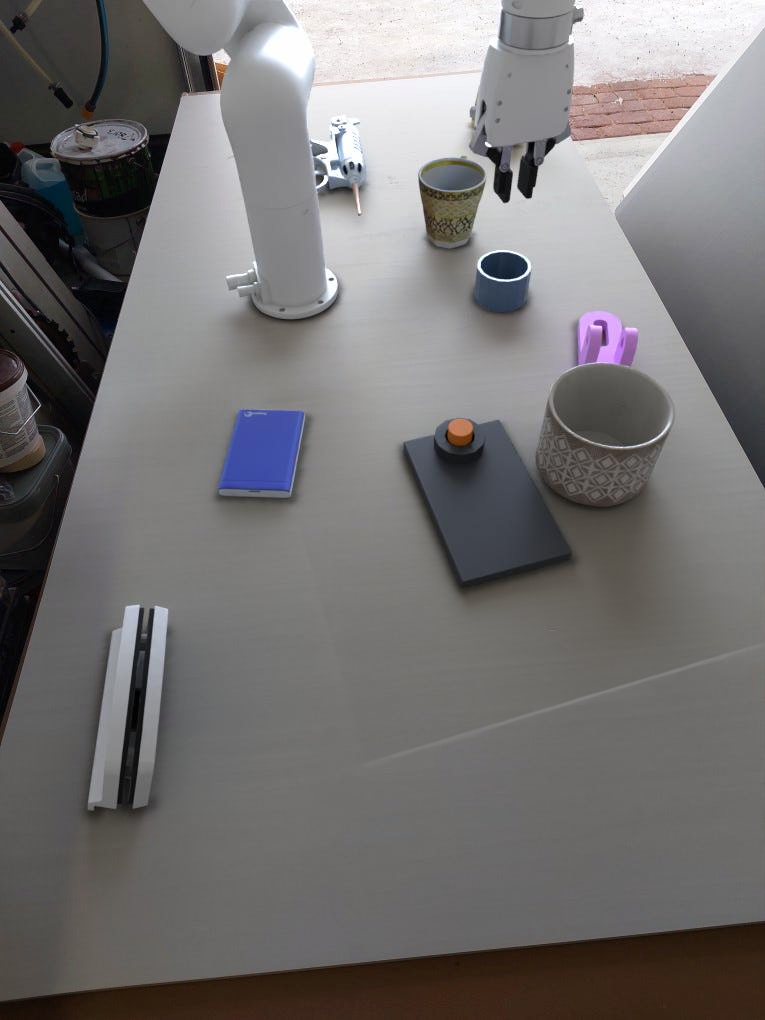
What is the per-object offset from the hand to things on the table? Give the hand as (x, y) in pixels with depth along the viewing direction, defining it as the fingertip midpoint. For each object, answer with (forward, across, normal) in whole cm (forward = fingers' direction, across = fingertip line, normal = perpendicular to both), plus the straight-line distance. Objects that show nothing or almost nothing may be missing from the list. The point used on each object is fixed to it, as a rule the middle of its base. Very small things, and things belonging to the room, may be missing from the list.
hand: (513, 194), depth 87 cm
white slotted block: (+15, +54, +48) cm, 74 cm away
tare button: (+13, +16, +26) cm, 33 cm away
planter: (+15, +2, +33) cm, 37 cm away
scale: (+15, +16, +34) cm, 40 cm away
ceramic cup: (+15, +1, -18) cm, 24 cm away
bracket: (+15, -8, +15) cm, 23 cm away
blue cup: (+15, 0, 0) cm, 15 cm away
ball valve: (+15, -18, -47) cm, 53 cm away
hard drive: (+15, +38, +20) cm, 46 cm away
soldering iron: (+15, +17, -40) cm, 46 cm away
